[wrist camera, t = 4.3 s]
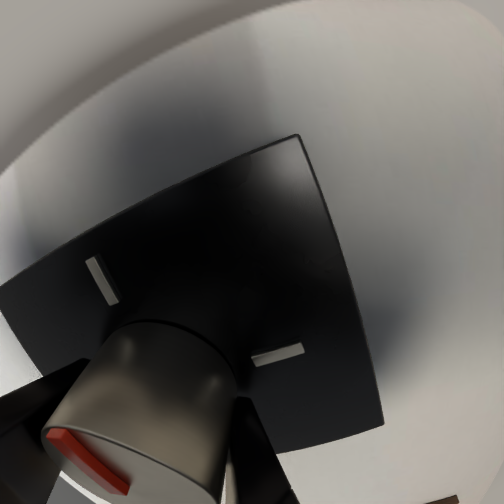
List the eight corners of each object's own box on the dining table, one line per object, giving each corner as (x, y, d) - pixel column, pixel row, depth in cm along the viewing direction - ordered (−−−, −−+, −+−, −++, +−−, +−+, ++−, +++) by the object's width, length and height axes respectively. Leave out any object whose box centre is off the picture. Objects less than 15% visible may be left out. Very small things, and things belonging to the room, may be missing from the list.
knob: (259, 413, 9) (250, 532, 5) (149, 428, 10) (115, 520, 5) (194, 302, 7) (132, 440, 3) (79, 338, 8) (6, 429, 4)
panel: (290, 138, 9) (299, 131, 6) (367, 374, 12) (386, 428, 9) (33, 265, 11) (-12, 294, 8) (141, 423, 14) (123, 466, 11)
